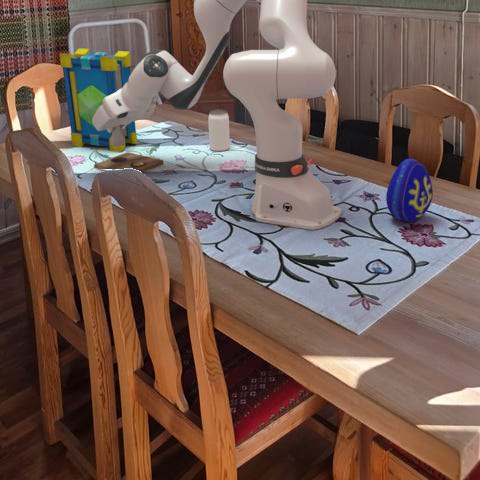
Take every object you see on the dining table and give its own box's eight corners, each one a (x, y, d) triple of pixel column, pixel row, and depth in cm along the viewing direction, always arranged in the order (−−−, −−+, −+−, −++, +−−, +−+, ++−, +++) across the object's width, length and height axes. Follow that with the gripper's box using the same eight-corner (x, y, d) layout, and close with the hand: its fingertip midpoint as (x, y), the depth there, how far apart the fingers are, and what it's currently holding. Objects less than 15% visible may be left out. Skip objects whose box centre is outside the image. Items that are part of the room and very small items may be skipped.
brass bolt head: (145, 163, 204) (145, 162, 204) (138, 166, 202) (138, 165, 201) (138, 162, 205) (138, 161, 205) (131, 164, 203) (131, 163, 203)
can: (233, 147, 220) (232, 110, 215) (222, 152, 216) (221, 115, 211) (217, 144, 224) (215, 108, 219) (205, 150, 219) (203, 113, 214)
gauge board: (163, 163, 207) (162, 159, 207) (130, 177, 197) (130, 172, 197) (127, 155, 215) (127, 152, 215) (94, 168, 205) (93, 164, 205)
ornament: (405, 231, 158) (410, 169, 152) (376, 219, 165) (379, 159, 158) (436, 219, 164) (442, 159, 157) (407, 208, 170) (411, 149, 164)
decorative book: (119, 154, 217) (109, 58, 204) (63, 146, 227) (50, 53, 214) (145, 142, 228) (137, 50, 216) (90, 135, 238) (80, 46, 226)
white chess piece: (122, 146, 204) (120, 120, 200) (108, 146, 205) (105, 120, 201) (127, 142, 208) (124, 116, 204) (113, 141, 209) (110, 116, 205)
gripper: (154, 85, 202) (136, 112, 212) (98, 99, 188) (81, 127, 198) (166, 102, 201) (147, 129, 211) (110, 117, 187) (93, 145, 197)
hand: (115, 128), depth 205 cm, fingers closed on white chess piece, 3 cm apart
